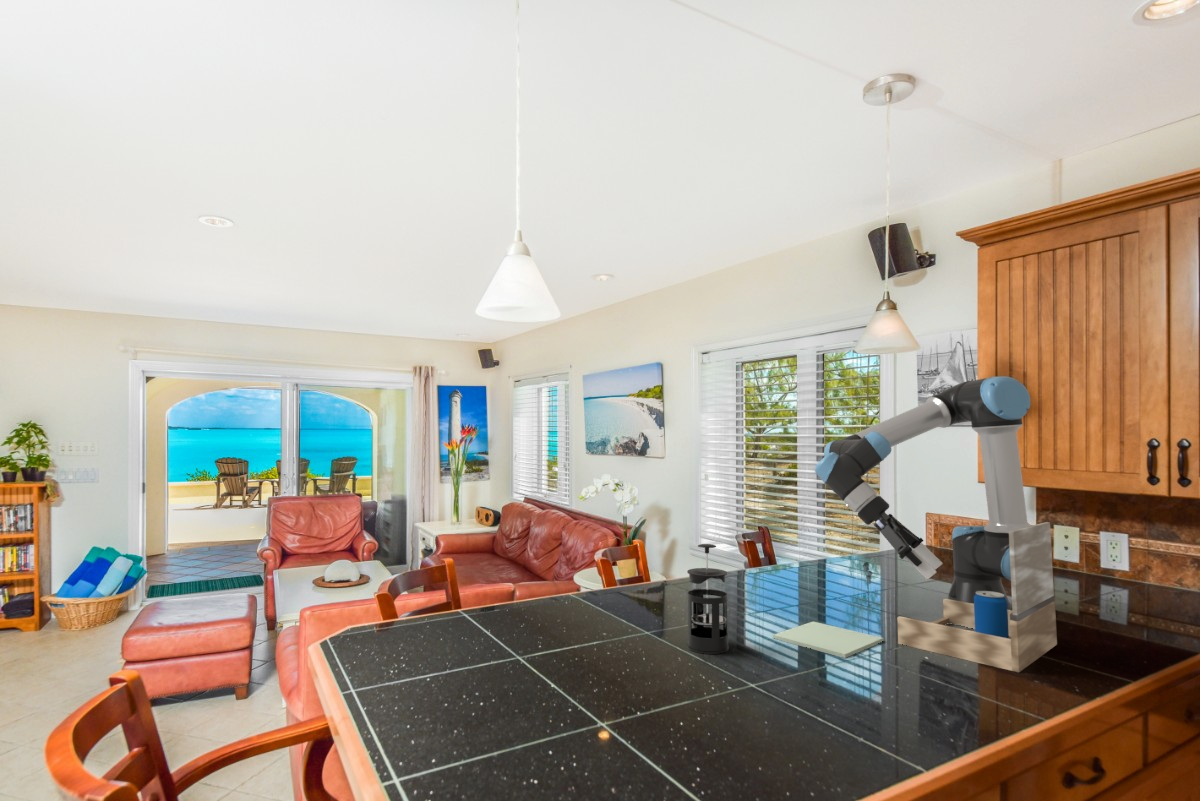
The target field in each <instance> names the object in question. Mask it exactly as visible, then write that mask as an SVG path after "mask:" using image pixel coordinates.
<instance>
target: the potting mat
mask: <svg viewBox="0 0 1200 801" xmlns="http://www.w3.org/2000/svg"><path fill="white" fill-rule="evenodd" d="M773 638H775V639H774V640H777V639H779V640H778V641H781V640H782V641H781V642H784V641H785V643H788V642H789V644H792V645H795V644H796V645H797V646H800V647H803V648H806V647H807V648H806V649H810V648H811V650H814V651H818V652H822V653H826V654H829V655H832V656H836V657H839V658H844V659H846V658H848V657H850V656H853V655H855V653H856V654H858V653H860V652H862V651H865V650H867V649H869V648H872V647H873V646H876V645H879V644H880V642H881V643H883V642H884V637H882V636H881V637H880V636H876V635H872V634H869V633H863V632H860V631H855V630H852V629H847V628H842V627H838V626H834V625H829V624H825V623H822V622H818V621H810V622H807V623H805V624H801V625H799V626H795V627H792V628H789V629H787V630H783V631H781V632H777V633H774V634H772V639H773ZM882 641H883V642H882ZM878 643H879V644H878ZM871 646H872V647H871ZM864 649H865V650H864Z"/></svg>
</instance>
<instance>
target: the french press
mask: <svg viewBox="0 0 1200 801" xmlns="http://www.w3.org/2000/svg"><path fill="white" fill-rule="evenodd" d="M697 547H698V548H702V549H703V548H704V554H706V556H705V557H706V560H705V561H706V562H705V563H706V567H697V568H691V569H690V568H689V569H688V570H687V574H688V576H689V577H688V579H689V582H690V583H691V584H697V585H700V584H703V583H704V582H706V588H693V589H691V590H689V591H687V593H686V594H687V643H686V648H687V649H688V650H689V649H690V650H689V651H691V650H692V651H691V652H693V651H694V653H697V652H698V653H697V654H702V653H704V655H718V654H719V655H720V653H721V654H724V652H725V653H727V652H728V651H729V649H730V646H729V644H728V643H729V633H728V593H727V592H725V591H722V590H718V589H709V579H716V580H720V581H721V582H723V583H726V576H727V575H728V572H727V571H726V570H724V569H719V568H711V567H709V560H708V559H709V554H710V549H714V548H717V545H715V544H711V543H702V544H701V543H699V544H698V545H697ZM704 596H706V597H704ZM709 596H715V597H709ZM720 604H722V615H720ZM704 605H706V612H705V613H704ZM709 605H711V613H709ZM692 613H693V614H692ZM692 625H693V626H692ZM720 626H722V628H720Z"/></svg>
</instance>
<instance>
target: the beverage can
mask: <svg viewBox="0 0 1200 801" xmlns="http://www.w3.org/2000/svg"><path fill="white" fill-rule="evenodd" d="M1004 596H1005V595H1004V594H1001V593H997V592H991V591H977V592H976V595H975V596H974V615H975V629H974V632H979V633H984V634H989V635H993V636H998V637H1003V638H1008V639H1010V636H1009V632H1008V610H1007V600H1006V599H1005V598H1004Z"/></svg>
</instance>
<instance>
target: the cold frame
mask: <svg viewBox="0 0 1200 801" xmlns="http://www.w3.org/2000/svg"><path fill="white" fill-rule="evenodd" d="M1051 532H1052V531H1051V522H1050V521H1049V522H1048V521H1046V522H1042V523H1038V524H1033V525H1031V526H1029V527H1025V528H1021V529H1017V530H1013V531H1009V547H1010V569H1011V580H1010V586H1011V608H1012V609H1010V610H1008V632H1009V637H1010V638H1009V639H1008V638H1003V637H998V636H993V635H989V634H984V633H979V632H975V615H974V604H972V603H967V602H961V601H955V600H949V599H948V598H943V599H942V606H943V608H942V610H943V611H942V612H943V617H941V618H939V619H936V620H933V621H924V620H920V619H915V618H909V617H906V616H900V615H899V616H898V617H897V619H896V620H897V644H898V645H902V644H903V645H902V646H906V645H907V647H909V648H910V647H911V648H914V649H919V650H923V651H927V652H930V653H931V652H932V653H936V654H939V655H945V656H949V657H953V658H957V659H961V660H965V661H969V662H973V663H978V664H982V665H986V666H991V667H994V668H998V669H1003V670H1006V671H1007V670H1008V671H1011V672H1016V673H1020V672H1022V671H1023V670H1025V669H1026V668H1027V667H1029V666H1030V665H1031V664H1032V663H1034V662H1035V661H1037V660H1038V659H1039V658H1041V657H1042V656H1044V655H1045V654H1047V652H1049V651H1050V650H1051V649H1053V648H1054V647H1055V646H1057V645H1058V637H1057V634H1058V633H1057V618H1056V601H1055V600H1056V599H1055V593H1054V592H1055V591H1054V573H1053V572H1054V570H1053V569H1054V568H1053V553H1052V552H1053V551H1052V550H1053V549H1052V534H1051ZM947 623H952V624H956V625H961V626H965V627H964V628H966V627H968V628H967V629H963V628H957V627H953V626H949V625H945V624H947ZM956 625H955V626H956ZM961 626H960V627H961ZM971 628H973V630H974V631H973V630H968V629H971Z"/></svg>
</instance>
